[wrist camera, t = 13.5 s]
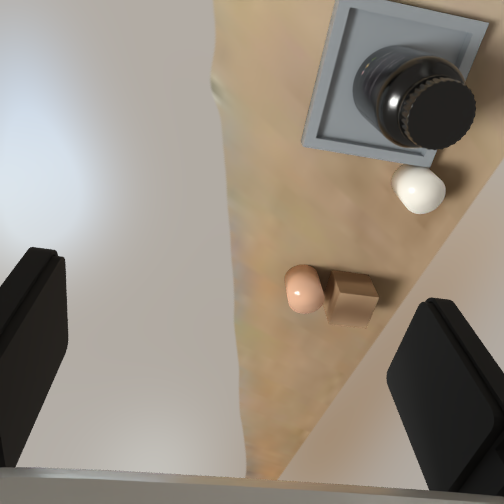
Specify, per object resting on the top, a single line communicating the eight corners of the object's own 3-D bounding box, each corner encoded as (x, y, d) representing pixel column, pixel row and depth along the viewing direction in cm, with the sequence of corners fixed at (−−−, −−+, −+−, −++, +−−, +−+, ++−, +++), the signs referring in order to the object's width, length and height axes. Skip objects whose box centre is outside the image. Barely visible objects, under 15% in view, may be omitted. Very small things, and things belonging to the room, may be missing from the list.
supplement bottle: (440, 74, 40) (513, 105, 30) (387, 135, 43) (438, 183, 33) (386, 25, 38) (446, 41, 28) (334, 94, 41) (371, 131, 30)
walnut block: (331, 269, 52) (340, 292, 48) (368, 274, 52) (379, 297, 48) (321, 299, 54) (328, 324, 50) (356, 304, 54) (366, 328, 51)
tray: (337, -10, 37) (341, -10, 35) (480, 21, 38) (489, 23, 37) (300, 141, 43) (302, 146, 42) (424, 162, 45) (429, 167, 44)
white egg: (399, 158, 45) (413, 172, 41) (435, 164, 45) (452, 179, 42) (385, 193, 47) (398, 210, 43) (420, 199, 47) (435, 216, 44)
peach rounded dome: (288, 262, 51) (292, 282, 47) (322, 266, 51) (328, 287, 48) (281, 290, 53) (284, 311, 49) (313, 294, 53) (319, 315, 50)
